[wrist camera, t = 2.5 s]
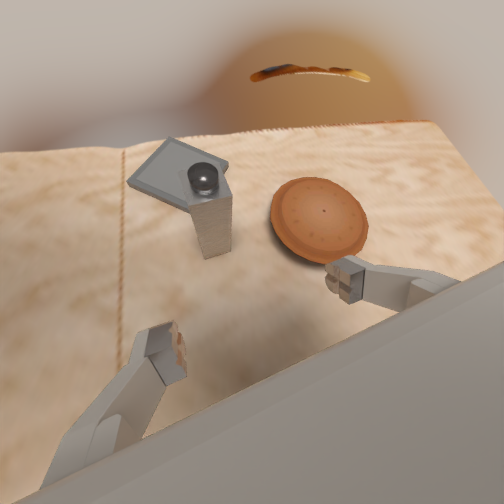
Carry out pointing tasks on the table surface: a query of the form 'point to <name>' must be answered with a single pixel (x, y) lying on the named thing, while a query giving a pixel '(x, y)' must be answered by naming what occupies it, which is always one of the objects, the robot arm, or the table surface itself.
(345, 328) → the table surface
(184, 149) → the rest tile
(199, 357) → the table surface
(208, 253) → the knob-topped square pillar
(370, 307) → the table surface
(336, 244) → the pie
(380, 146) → the table surface
